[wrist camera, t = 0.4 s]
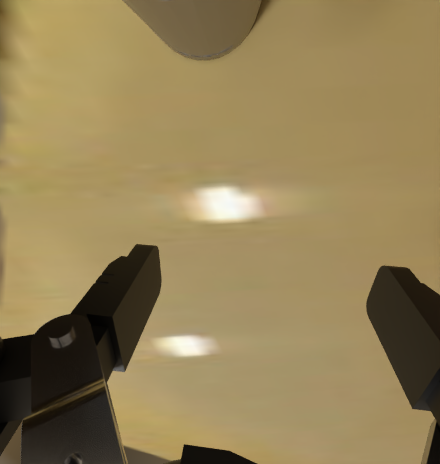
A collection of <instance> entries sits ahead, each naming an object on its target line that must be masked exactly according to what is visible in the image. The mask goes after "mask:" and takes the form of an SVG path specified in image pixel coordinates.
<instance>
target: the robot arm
mask: <svg viewBox="0 0 440 464" xmlns="http://www.w3.org/2000/svg"><path fill="white" fill-rule="evenodd" d="M123 1H124V2H125V3H126V4H127V5H128V6H129V7H130V8H131V9H132V10H133V11H134V12H135V13H136V14H137V15H138V16H139V17H140V18H141V19H142V20H143V21H144V22H145V23H146V24H147V25H148V26H149V27H150V28H151V29H152V30H153V31H154V32H155V33H156V34H157V35H158V36H159V37H160V38H161V39H162V40H163V41H164V42H165V43H166V44H167V45H168V46H169V47H171V48H172V49H173V50H174V51H175V52H177V53H179V54H181V55H183V56H185V57H188V58H191V59H195V60H211V59H216V58H220V57H222V56H224V55H226V54H228V53H230V52H231V51H232V50H234V49H235V48H236V47H237V46H238V45H240V44H241V42H242V41H243V40H244V39H245V37H246V36H247V35H248V34H249V32H250V30H251V28H252V26H253V24H254V22H255V20H256V17H257V14H258V11H259V8H260V4H261V0H123ZM160 289H161V269H160V259H159V250H158V247H157V246H153V245H141V244H136V245H135V246H134V248H133V249H132V251H131V252H130V253H129V255H128V256H127V257H125V256H121V257H119V258H118V259H116V260H115V261H113V262H111V263H110V264H109V265H108V266H107V268H106V269H105V270H104V271H103V273H102V275H100V277H99V278H98V279H97V280H96V283H94V284H93V285H92V287H91V288H90V289H89V291H88V292H87V293H86V294H85V296H84V297H83V298H82V300H81V301H80V302H79V303H78V305H77V306H76V307H75V308H74V310H73V311H72V312H71V314H68V315H63V316H60V317H57V318H54V319H52V320H50V321H49V322H47V323H45V324H44V325H43V326H42V327H40V328H39V329H38V330H37V332H36V333H35V334H33V335H27V336H20V337H14V338H7V339H1V337H0V456H1V454H2V452H3V451H4V449H5V447H6V446H7V444H8V443H9V441H10V439H11V438H12V436H13V434H14V433H15V431H16V430H17V428H18V426H19V425H20V423H21V422H22V420H23V423H22V431H21V464H128V463H127V459H126V455H125V451H124V447H123V444H122V440H121V436H120V432H119V428H118V424H117V420H116V416H115V412H114V408H113V404H112V400H111V396H110V392H109V389H108V385H107V381H108V379H109V377H110V375H111V373H112V371H121V372H125V370H126V368H127V366H128V364H129V361H130V359H131V357H132V355H133V352H134V350H135V348H136V345H137V343H138V341H139V339H140V336H141V334H142V332H143V330H144V327H145V325H146V323H147V321H148V318H149V316H150V314H151V312H152V309H153V307H154V305H155V303H156V300H157V298H158V296H159V293H160ZM366 307H367V314H368V317H369V319H370V321H371V323H372V325H373V327H374V329H375V331H376V334H377V336H378V338H379V340H380V342H381V344H382V346H383V348H384V350H385V352H386V354H387V357H388V359H389V361H390V363H391V365H392V367H393V369H394V371H395V373H396V375H397V377H398V379H399V382H400V384H401V386H402V388H403V390H404V392H405V394H406V396H407V398H408V400H409V402H410V405H411V407H412V409H418V410H426V411H431V412H432V414H433V416H434V417H435V419H434V421H433V422H432V423H431V426H430V429H429V433H428V437H427V441H426V445H425V449H424V453H423V457H422V461H421V464H440V295H439V294H438V293H436V292H435V291H433V290H432V289H431V288H429V287H428V286H426V285H425V284H424V283H420V281H419V280H418V279H417V278H416V277H415V275H414V274H413V273H412V272H411V270H410V269H408V268H406V267H395V266H381V267H380V268H379V270H378V272H377V275H376V278H375V280H374V283H373V285H372V288H371V291H370V293H369V296H368V299H367V305H366ZM165 464H256V463H254V462H252V461H250V460H248V459H246V458H244V457H242V456H239V455H237V454H235V453H233V452H231V451H227V450H220V449H213V448H206V447H199V446H192V445H185V444H184V447H183V452H182V458H181V459H180V460H174V461H171V462H168V463H165Z"/></svg>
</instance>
